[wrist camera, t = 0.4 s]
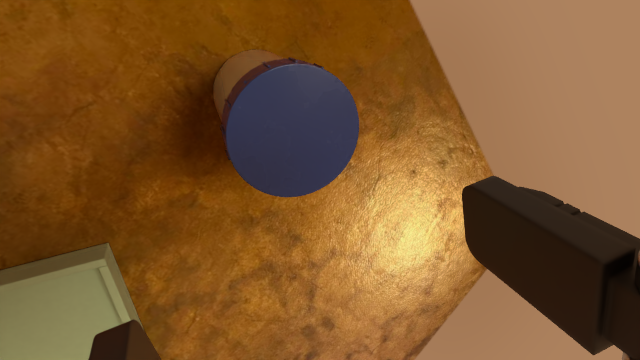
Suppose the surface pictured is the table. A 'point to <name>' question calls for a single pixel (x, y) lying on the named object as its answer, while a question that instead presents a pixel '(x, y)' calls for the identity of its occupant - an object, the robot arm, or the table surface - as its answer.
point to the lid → (289, 127)
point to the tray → (61, 305)
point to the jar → (237, 73)
